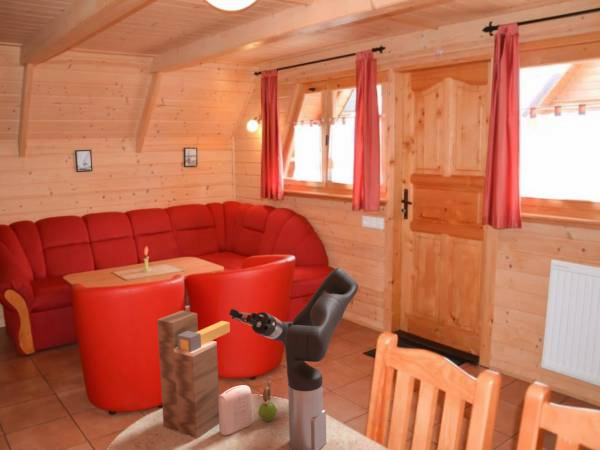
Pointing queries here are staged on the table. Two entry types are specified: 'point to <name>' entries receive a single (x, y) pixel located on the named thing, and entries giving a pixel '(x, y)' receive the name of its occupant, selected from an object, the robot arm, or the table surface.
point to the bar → (202, 336)
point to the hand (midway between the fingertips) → (241, 313)
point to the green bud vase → (267, 404)
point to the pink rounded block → (235, 409)
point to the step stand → (187, 378)
